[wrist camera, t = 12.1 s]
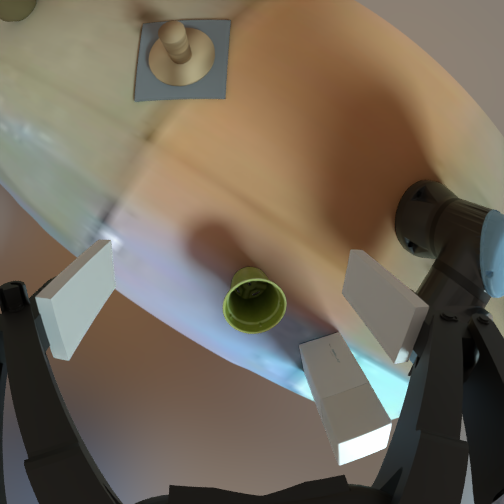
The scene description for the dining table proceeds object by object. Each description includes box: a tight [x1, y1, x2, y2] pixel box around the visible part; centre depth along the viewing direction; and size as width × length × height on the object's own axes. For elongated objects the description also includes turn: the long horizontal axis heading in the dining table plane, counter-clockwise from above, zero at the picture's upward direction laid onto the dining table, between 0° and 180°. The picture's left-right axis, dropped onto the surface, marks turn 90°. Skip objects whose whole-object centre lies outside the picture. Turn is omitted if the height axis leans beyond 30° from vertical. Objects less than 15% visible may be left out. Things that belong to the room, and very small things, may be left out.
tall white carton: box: [299, 332, 392, 465], centre depth 47 cm, size 9×9×25 cm
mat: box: [135, 20, 231, 102], centre depth 36 cm, size 14×14×1 cm
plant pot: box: [223, 267, 286, 334], centre depth 47 cm, size 9×9×9 cm
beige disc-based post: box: [149, 21, 215, 86], centre depth 31 cm, size 10×10×11 cm
